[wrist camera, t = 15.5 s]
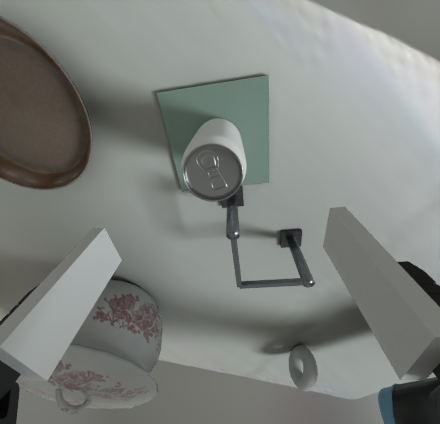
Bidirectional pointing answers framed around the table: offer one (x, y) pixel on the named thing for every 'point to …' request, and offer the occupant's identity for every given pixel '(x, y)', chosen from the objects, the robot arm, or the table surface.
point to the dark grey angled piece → (287, 240)
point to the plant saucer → (39, 116)
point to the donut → (309, 374)
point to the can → (214, 161)
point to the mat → (223, 109)
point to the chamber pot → (108, 355)
